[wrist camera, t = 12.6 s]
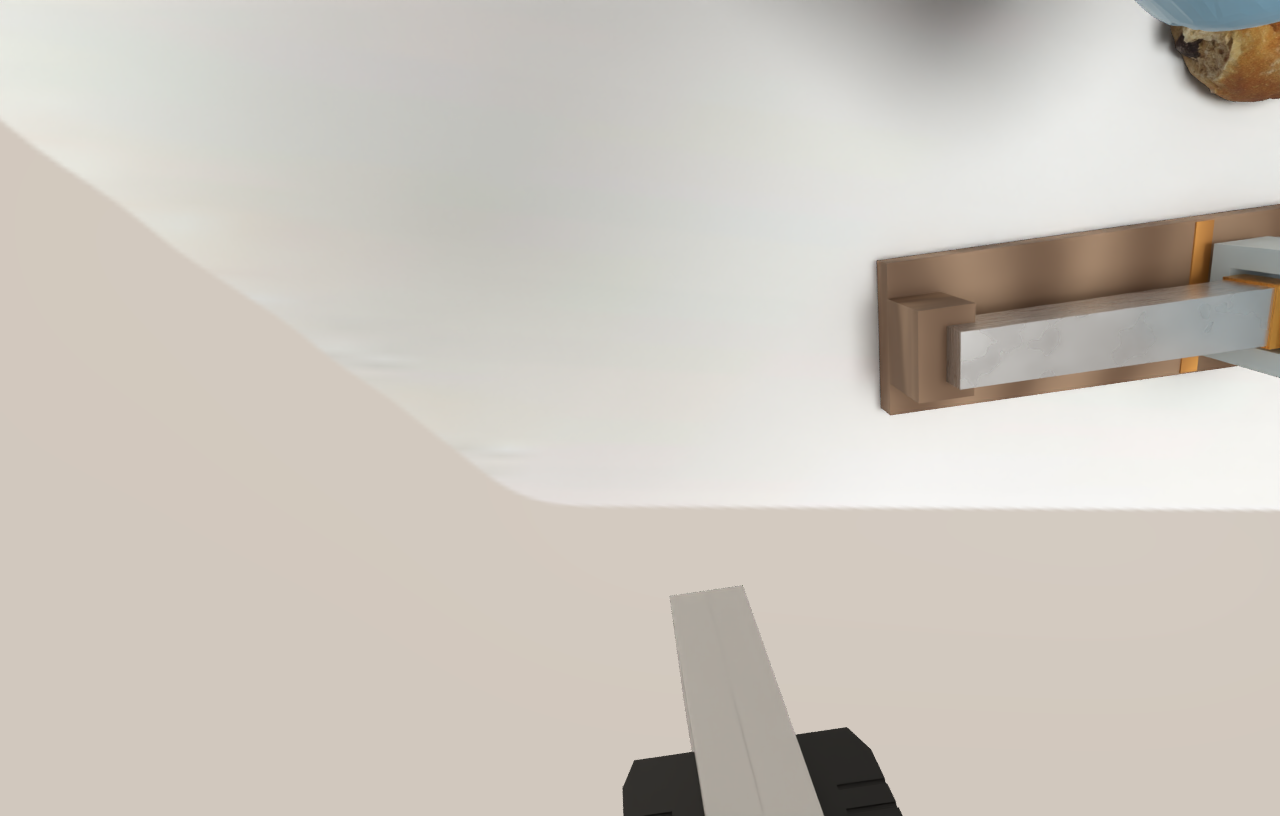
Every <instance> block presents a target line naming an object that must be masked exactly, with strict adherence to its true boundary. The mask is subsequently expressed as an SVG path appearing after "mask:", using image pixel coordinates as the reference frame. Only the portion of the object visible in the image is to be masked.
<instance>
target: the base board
mask: <svg viewBox="0 0 1280 816" xmlns="http://www.w3.org/2000/svg"><path fill="white" fill-rule="evenodd" d="M1265 236H1272V237H1280V204H1277V205H1270V206H1263V207H1256V208H1249V209H1242V210H1235V211H1227V212H1220V213H1213V214H1206V215H1199V216H1192V217H1185V218H1177V219H1170V220H1163V221H1156V222H1149V223H1142V224H1135V225H1127V226H1120V227H1113V228H1106V229H1099V230H1092V231H1085V232H1078V233H1070V234H1063V235H1056V236H1049V237H1042V238H1035V239H1028V240H1020V241H1013V242H1006V243H999V244H992V245H985V246H978V247H970V248H963V249H956V250H949V251H942V252H935V253H928V254H920V255H913V256H906V257H899V258H892V259H885V260H878V261H877V281H878V318H879V355H880V392H881V408H882V409H883V410H884V411H886V412H887V413H888V414H889V415H896V414H903V413H910V412H917V411H924V410H931V409H938V408H945V407H952V406H959V405H966V404H973V403H980V402H987V401H994V400H1001V399H1008V398H1015V397H1022V396H1029V395H1037V394H1044V393H1051V392H1058V391H1065V390H1072V389H1079V388H1086V387H1093V386H1100V385H1107V384H1114V383H1121V382H1128V381H1135V380H1142V379H1149V378H1156V377H1163V376H1170V375H1177V374H1184V373H1191V372H1198V371H1205V370H1212V369H1219V368H1226V367H1233V366H1237V365H1234V364H1230V363H1227V362H1223V361H1220V360H1216V359H1213V358H1209V357H1206V356H1202V355H1201V356H1194V357H1187V358H1180V359H1173V360H1166V361H1159V362H1152V363H1145V364H1138V365H1130V366H1123V367H1116V368H1109V369H1102V370H1095V371H1088V372H1081V373H1074V374H1067V375H1060V376H1053V377H1046V378H1039V379H1032V380H1025V381H1018V382H1011V383H1004V384H997V385H990V386H983V387H976V388H969V389H962V390H960V389H958V388H957V387H955V386H953V385H951V384H950V383H948V382H947V326H953V325H960V324H967V323H974V322H975V317H976V315H979V314H986V313H993V312H1000V311H1008V310H1015V309H1022V308H1029V307H1036V306H1043V305H1050V304H1057V303H1064V302H1071V301H1078V300H1085V299H1093V298H1100V297H1107V296H1114V295H1121V294H1128V293H1135V292H1142V291H1149V290H1156V289H1163V288H1171V287H1178V286H1185V285H1192V284H1199V283H1206V282H1210V275H1211V266H1212V258H1213V250H1214V244H1215V243H1222V242H1229V241H1236V240H1243V239H1250V238H1258V237H1265Z"/></svg>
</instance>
